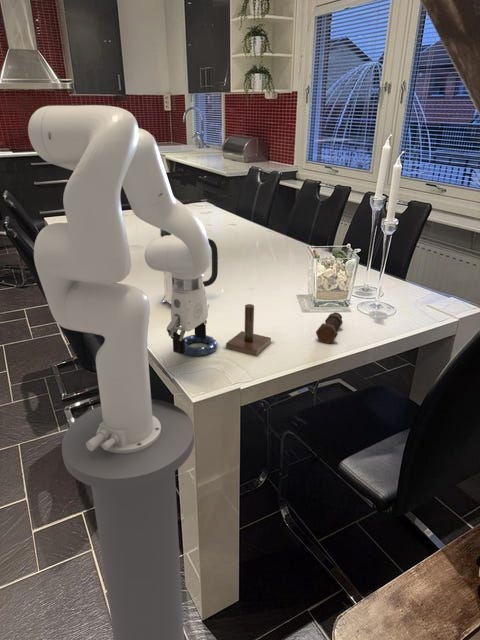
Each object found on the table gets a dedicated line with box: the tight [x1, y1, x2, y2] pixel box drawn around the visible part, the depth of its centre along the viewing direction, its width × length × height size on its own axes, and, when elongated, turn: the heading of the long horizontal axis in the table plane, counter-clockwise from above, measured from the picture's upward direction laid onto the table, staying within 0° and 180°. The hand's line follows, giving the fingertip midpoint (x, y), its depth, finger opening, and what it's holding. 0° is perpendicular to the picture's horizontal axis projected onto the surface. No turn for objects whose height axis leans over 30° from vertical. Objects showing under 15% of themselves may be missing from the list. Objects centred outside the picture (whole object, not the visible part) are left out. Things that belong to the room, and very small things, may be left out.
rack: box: [225, 303, 272, 357], centre depth 123 cm, size 9×9×12 cm
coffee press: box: [158, 229, 219, 305], centre depth 148 cm, size 17×16×30 cm
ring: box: [183, 334, 219, 357], centre depth 123 cm, size 10×10×2 cm
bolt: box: [315, 311, 344, 344], centre depth 133 cm, size 6×5×15 cm
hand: (190, 345), depth 120 cm, fingers open, 9 cm apart
